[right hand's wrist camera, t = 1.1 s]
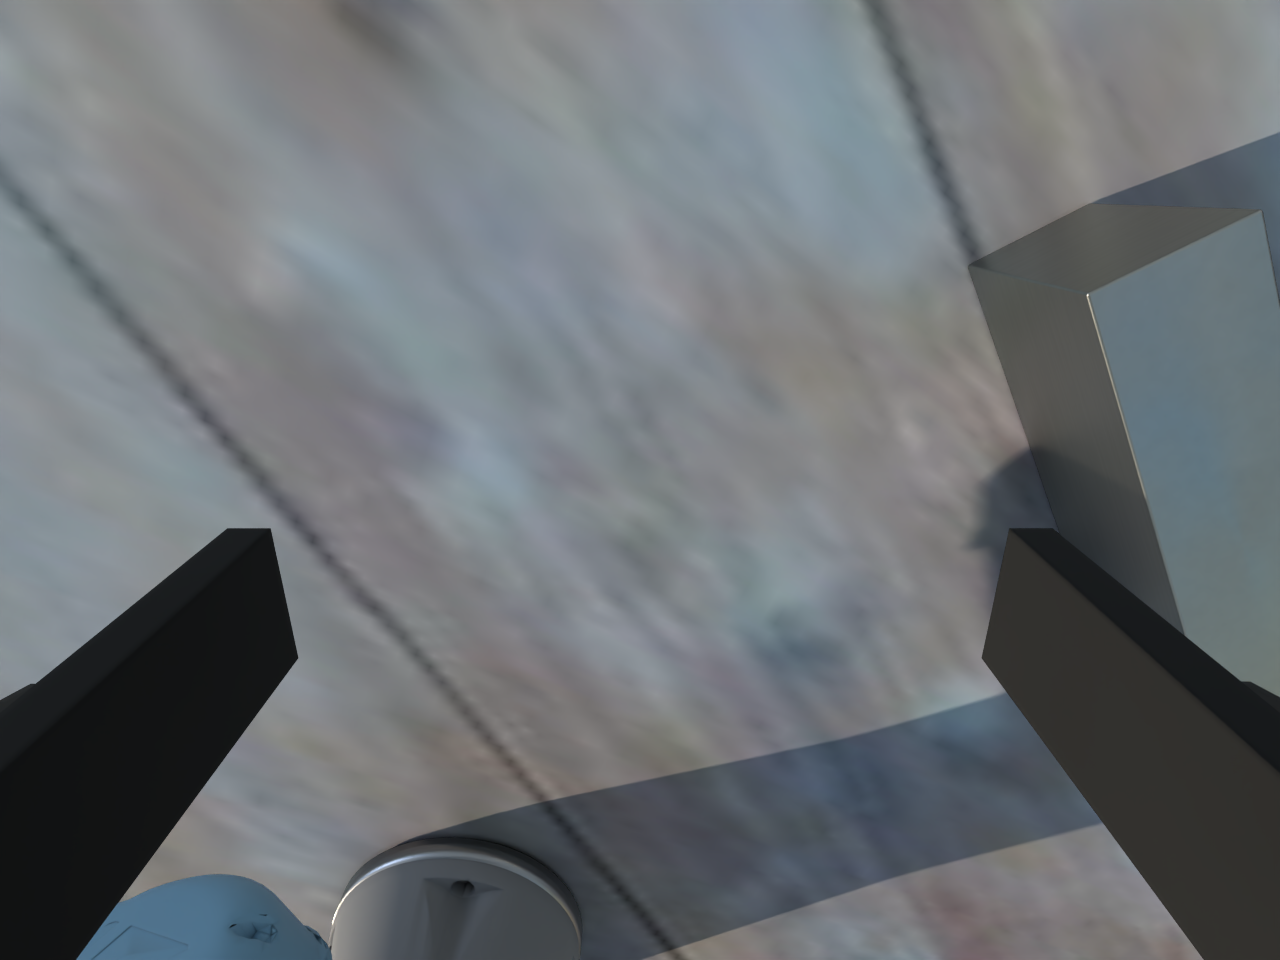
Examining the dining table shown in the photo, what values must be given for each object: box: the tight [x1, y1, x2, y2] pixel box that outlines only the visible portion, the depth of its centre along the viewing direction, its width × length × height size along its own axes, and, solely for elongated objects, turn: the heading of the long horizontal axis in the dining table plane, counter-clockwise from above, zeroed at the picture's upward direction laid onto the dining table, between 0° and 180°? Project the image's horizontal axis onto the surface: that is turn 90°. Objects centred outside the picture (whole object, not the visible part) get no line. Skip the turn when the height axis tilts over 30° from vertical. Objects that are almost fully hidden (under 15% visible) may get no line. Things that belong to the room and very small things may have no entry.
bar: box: [968, 204, 1280, 697], centre depth 29 cm, size 22×5×9 cm, turn 28°
